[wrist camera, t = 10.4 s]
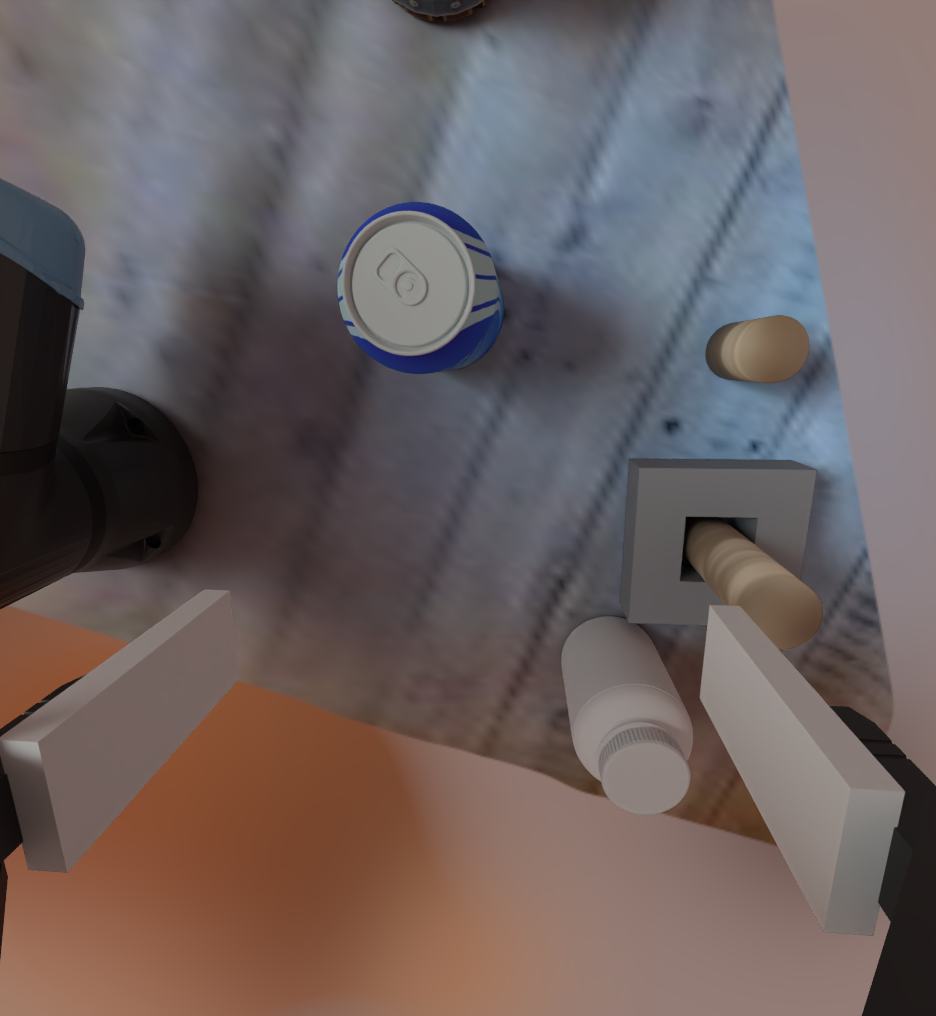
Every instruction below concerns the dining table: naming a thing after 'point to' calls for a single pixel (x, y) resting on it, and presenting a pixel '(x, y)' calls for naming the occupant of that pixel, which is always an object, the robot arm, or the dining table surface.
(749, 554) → the tall dowel
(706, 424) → the dining table surface
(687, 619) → the socket block
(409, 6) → the mug
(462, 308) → the beer can
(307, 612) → the dining table surface
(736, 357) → the short dowel
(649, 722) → the pill bottle
